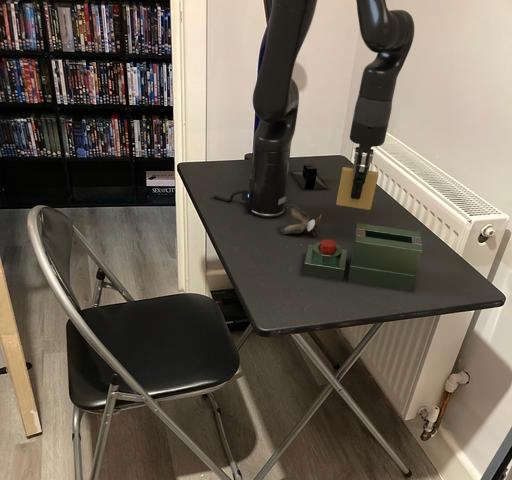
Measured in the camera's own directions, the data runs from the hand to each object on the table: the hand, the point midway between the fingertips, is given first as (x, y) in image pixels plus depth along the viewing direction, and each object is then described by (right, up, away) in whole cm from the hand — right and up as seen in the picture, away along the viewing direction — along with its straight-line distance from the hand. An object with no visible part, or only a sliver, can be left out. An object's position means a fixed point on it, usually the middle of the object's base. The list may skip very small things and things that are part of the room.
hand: (355, 196), depth 130 cm
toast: (0, -2, +2) cm, 2 cm away
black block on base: (-7, +14, +39) cm, 43 cm away
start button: (-7, -13, -3) cm, 15 cm away
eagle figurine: (-12, -6, +13) cm, 18 cm away
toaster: (+5, -18, -2) cm, 19 cm away
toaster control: (-7, -16, 0) cm, 18 cm away
